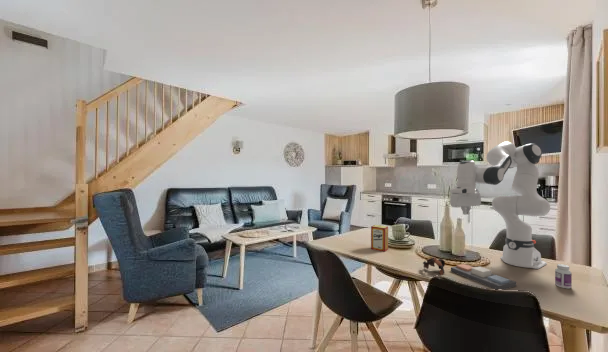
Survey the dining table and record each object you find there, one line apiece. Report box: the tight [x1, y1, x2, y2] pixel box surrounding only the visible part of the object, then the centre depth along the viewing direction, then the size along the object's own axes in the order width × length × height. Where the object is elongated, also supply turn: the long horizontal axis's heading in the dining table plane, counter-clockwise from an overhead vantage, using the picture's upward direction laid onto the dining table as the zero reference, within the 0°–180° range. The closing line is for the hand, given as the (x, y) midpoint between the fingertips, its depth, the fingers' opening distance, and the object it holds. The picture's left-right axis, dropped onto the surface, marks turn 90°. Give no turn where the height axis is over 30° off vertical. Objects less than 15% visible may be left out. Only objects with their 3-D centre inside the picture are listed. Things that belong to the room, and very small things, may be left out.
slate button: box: [488, 274, 509, 284], centre depth 120 cm, size 6×6×3 cm
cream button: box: [472, 266, 492, 278], centre depth 127 cm, size 6×6×3 cm
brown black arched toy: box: [422, 257, 446, 276], centre depth 137 cm, size 12×10×8 cm
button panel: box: [450, 265, 517, 290], centre depth 127 cm, size 12×24×2 cm, turn 22°
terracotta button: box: [456, 263, 475, 272], centre depth 135 cm, size 6×6×3 cm
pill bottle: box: [554, 263, 573, 289], centre depth 118 cm, size 5×5×10 cm
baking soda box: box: [370, 224, 389, 252], centre depth 175 cm, size 10×6×16 cm
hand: (465, 214), depth 143 cm, fingers closed
